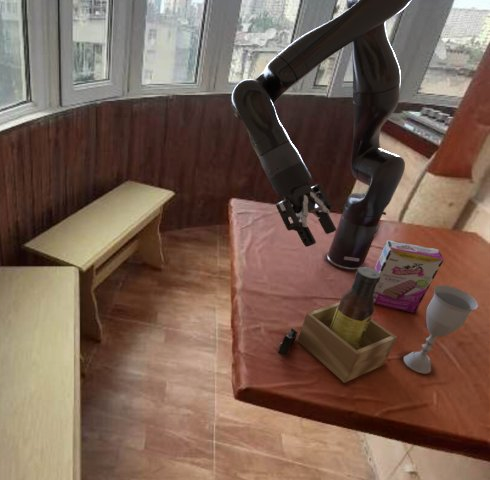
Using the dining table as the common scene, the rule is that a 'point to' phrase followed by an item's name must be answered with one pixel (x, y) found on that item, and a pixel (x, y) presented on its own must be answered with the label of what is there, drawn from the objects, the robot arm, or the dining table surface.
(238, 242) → the dining table surface
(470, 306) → the chalice
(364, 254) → the robot arm
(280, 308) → the dining table surface
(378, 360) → the caddy
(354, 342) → the sauce bottle
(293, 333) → the lighter
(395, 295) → the candy bar box
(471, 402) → the dining table surface
